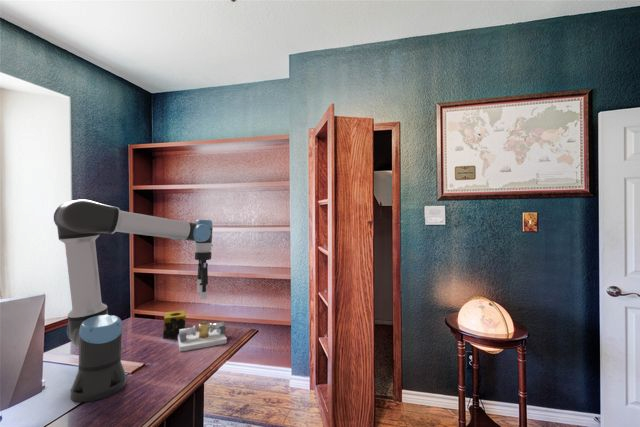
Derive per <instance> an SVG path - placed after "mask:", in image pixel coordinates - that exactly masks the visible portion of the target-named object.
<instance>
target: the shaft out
mask: <svg viewBox="0 0 640 427" xmlns="http://www.w3.org/2000/svg"><path fill="white" fill-rule="evenodd" d="M213 330H216V332H218V333H219V334H220V335H221V334H224V335H225V334H226V324H225V321H221V322H215V323H212V322H209V331H210V333H211V332H213Z"/></svg>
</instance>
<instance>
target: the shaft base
mask: <svg viewBox="0 0 640 427" xmlns="http://www.w3.org/2000/svg"><path fill="white" fill-rule="evenodd" d="M227 339H228V338H227V337H226V335H225V334H221V335H220V334H219V333H218V332H216V330H213V332H211V333H210V331H209V336H208V337H206V338H199V330H198V331H197V326H196V325H193V326H192V327H185V329H179V334H178V336H177V344H178V349H179V352H186V351H191V350H192V351H193V350H196V349H201V348H208V347H212V346H213V347H214V346H217V345H218V346H220V345H225V344H227V343H228V340H227Z"/></svg>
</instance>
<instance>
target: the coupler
mask: <svg viewBox="0 0 640 427" xmlns="http://www.w3.org/2000/svg"><path fill="white" fill-rule="evenodd" d="M209 323H210V322H209V321H205V320H203V321H201V322H199V323H198V331H199V338H206V337H208V336H209Z"/></svg>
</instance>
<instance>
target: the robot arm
mask: <svg viewBox="0 0 640 427" xmlns="http://www.w3.org/2000/svg"><path fill="white" fill-rule="evenodd" d="M53 222H54V224H55V225H56V228H57V235H58V236H57V237H58V240H59V241H60V242H62V243H63V244H64V247H65V254H66V255H65V256H66V264H67V272H68V273H67V274H68V281H69V289H70V290H69V291H70V298H71V310H70V311H69V312H68V313H67V323H68V324H67V328H66V334H67V338H68V340H69V341H70V342H71V343H72V344H73V345H74V346H75V347H76V349H77V350H78V369H77V370H78V371H77V373H76V375H75V379H74V381H73V383H72V386H71V388H70V399H71V401H74V402H76V403H77V402H78V403H87V402H88V403H89V402H93V401H95V402H96V401H98V400H101V399H105V398H108V397H110V396H113V395H114V394H116V393H118V392H120V391H121V390H122V389H123V388H124V387H125V386H126V384H127V374H126V372H125V370H124V366H123V364H122V360H121V358H122V339H123V338H122V335H123V334H122V332H123V321H122V319H121V318H120V317H118V315H114V314H113V315H112V314H111V315H110V314H109V311H108V305H107V304H106V303H103V302H102V294H101V293H102V292H101V284H100V274H99V265H98V258H97V257H98V256H97V247H96V240H97V239H98V238H99V237H100V234H110V235H113V234H115V233H116V232H117V233H118V232H119V233H125V234H134V235H142V236H151V237H157V238H158V237H159V238H166V239H170V240H173V241H192V242H194V251H195V252H194V260H195V261H198V263H197V276H196V278H197V286H196V288H197V289H196V293H197V294H198V293H199V294H200V296H199V298H200V300H205V299H206V300H207V298H208V284H209V276H208V275H209V273H208V267H209V264H208V262H207V261H210V260H211V259H212V248H213V247H214V244H213V243H212V242H213V230H214V229H213V227H214V226H213V221H212V220H211V219H196V220H195V223H194V222H188V221H185V220H184V221H183V220H177V219H171V218H165V217H160V216H154V215H148V214H143V213H135V212H129V211H126V210H125V211H124V210H121V209H120V208H119V207H117V206H112V205H108V204H104V203H100V202H97V201H93V200H89V199H76V200H75V199H74V200H68V201H65V202H63V203H61V204H60V205H58V207H57V208H56V209H55V211H54V213H53Z"/></svg>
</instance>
